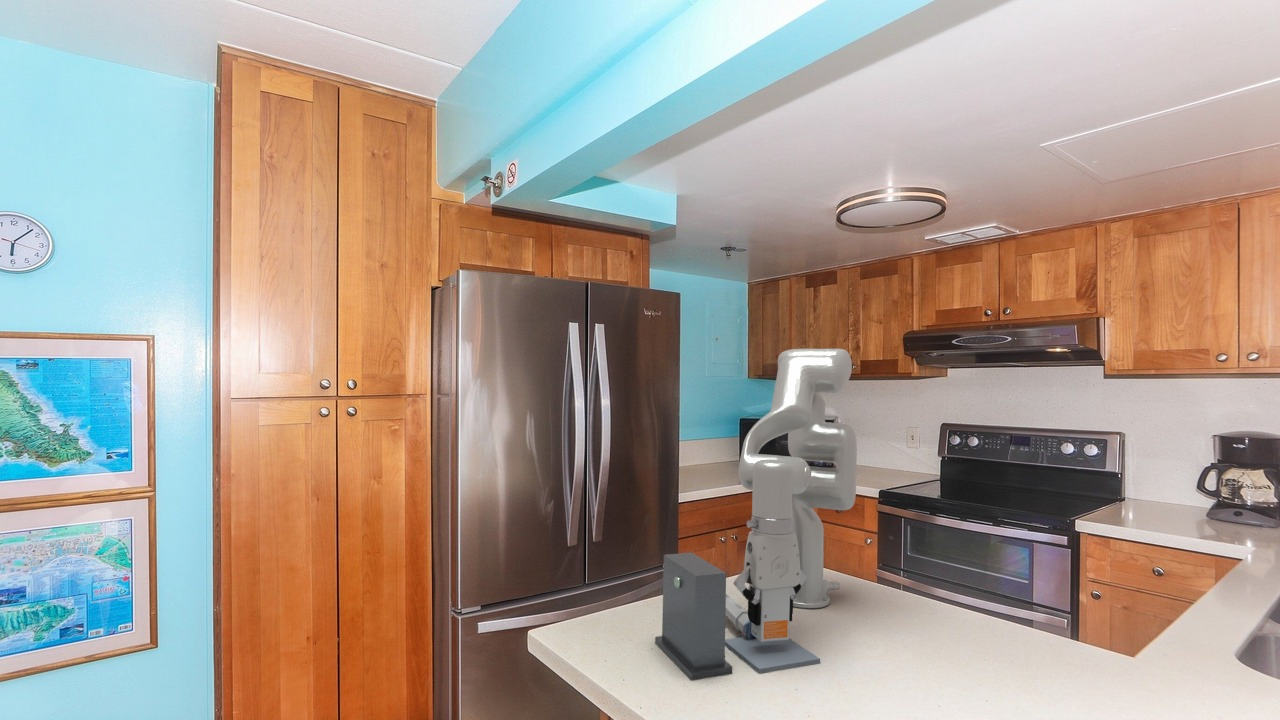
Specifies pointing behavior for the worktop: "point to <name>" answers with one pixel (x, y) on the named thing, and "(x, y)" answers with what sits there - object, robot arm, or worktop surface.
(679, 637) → the mounted unit
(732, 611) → the white elongated piece
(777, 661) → the slate mat
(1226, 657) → the worktop surface
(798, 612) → the worktop surface
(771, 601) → the skincare box
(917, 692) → the worktop surface
